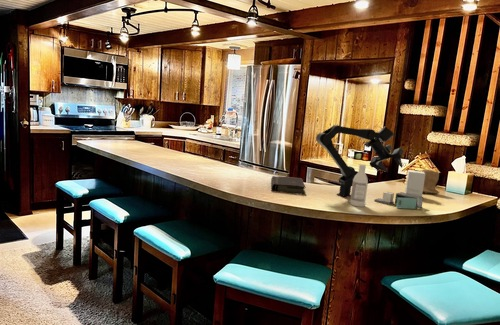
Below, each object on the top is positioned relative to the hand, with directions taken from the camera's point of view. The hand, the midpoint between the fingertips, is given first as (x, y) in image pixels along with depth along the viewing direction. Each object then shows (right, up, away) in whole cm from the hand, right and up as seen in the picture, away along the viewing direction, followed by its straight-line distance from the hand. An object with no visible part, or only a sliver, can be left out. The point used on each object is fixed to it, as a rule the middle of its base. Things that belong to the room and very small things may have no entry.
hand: (394, 169), depth 208 cm
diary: (-59, -11, +3) cm, 60 cm away
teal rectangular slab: (-2, -19, -20) cm, 28 cm away
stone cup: (+33, -16, +35) cm, 51 cm away
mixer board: (-9, -17, -10) cm, 22 cm away
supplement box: (+17, -17, +17) cm, 29 cm away
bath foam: (-27, -17, -23) cm, 39 cm away
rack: (+3, -19, -12) cm, 22 cm away
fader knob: (-8, -16, -11) cm, 21 cm away
